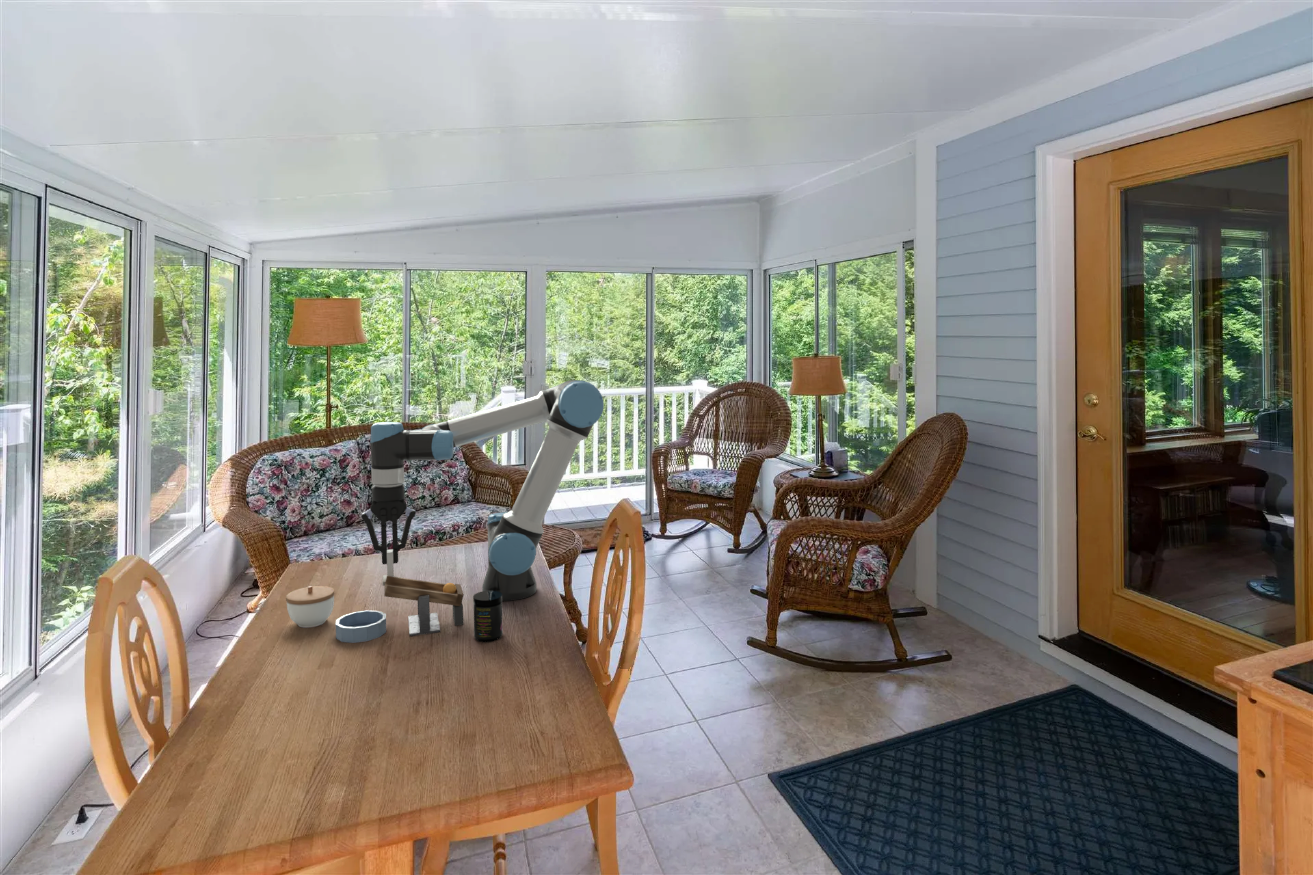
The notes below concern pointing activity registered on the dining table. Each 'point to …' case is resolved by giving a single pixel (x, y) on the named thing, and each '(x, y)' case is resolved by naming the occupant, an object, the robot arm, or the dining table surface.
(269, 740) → the dining table surface
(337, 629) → the bowl
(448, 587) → the ball
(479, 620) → the supplement container
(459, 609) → the block
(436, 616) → the pivot stand
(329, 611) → the lidded jar
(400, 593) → the lever
